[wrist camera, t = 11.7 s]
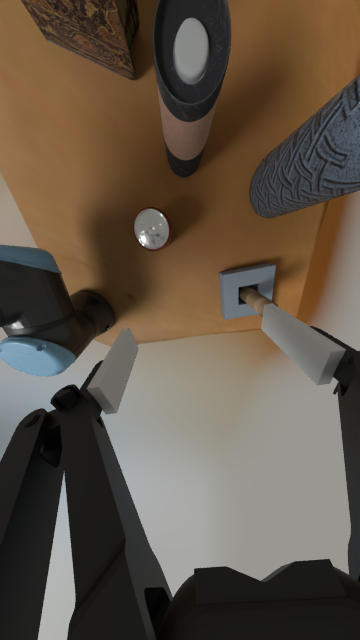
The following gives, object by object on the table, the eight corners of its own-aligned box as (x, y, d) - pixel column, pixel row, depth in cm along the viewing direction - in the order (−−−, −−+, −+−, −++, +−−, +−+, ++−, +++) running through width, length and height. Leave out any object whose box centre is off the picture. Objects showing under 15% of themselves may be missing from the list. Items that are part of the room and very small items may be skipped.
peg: (236, 297, 47) (259, 319, 34) (236, 285, 45) (260, 303, 32) (248, 295, 46) (277, 316, 33) (249, 283, 44) (279, 300, 31)
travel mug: (185, 188, 34) (193, 129, 16) (159, 158, 31) (135, 50, 14) (209, 152, 31) (250, 35, 13) (182, 116, 29) (189, -84, 11)
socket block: (221, 314, 49) (225, 319, 46) (219, 272, 43) (222, 275, 39) (263, 306, 48) (270, 311, 45) (267, 263, 42) (275, 264, 38)
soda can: (174, 219, 37) (173, 210, 26) (170, 250, 40) (168, 254, 29) (145, 213, 36) (132, 202, 25) (144, 246, 39) (132, 247, 29)
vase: (304, 138, 30) (890, -343, 5) (301, 207, 36) (583, 127, 11) (245, 164, 32) (481, -107, 7) (251, 226, 37) (395, 194, 13)
